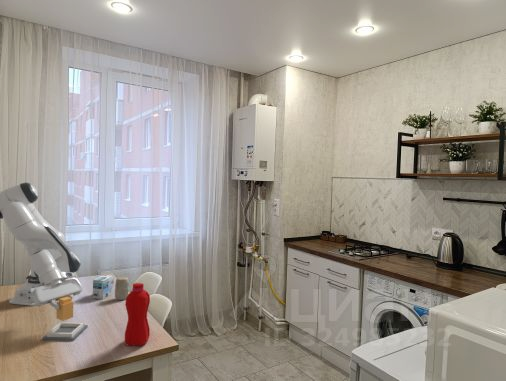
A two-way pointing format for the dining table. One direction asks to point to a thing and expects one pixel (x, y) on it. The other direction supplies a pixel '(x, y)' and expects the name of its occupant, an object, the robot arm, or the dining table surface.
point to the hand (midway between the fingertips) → (65, 307)
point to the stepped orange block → (65, 309)
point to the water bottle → (137, 316)
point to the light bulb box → (103, 286)
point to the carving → (121, 288)
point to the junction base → (65, 332)
